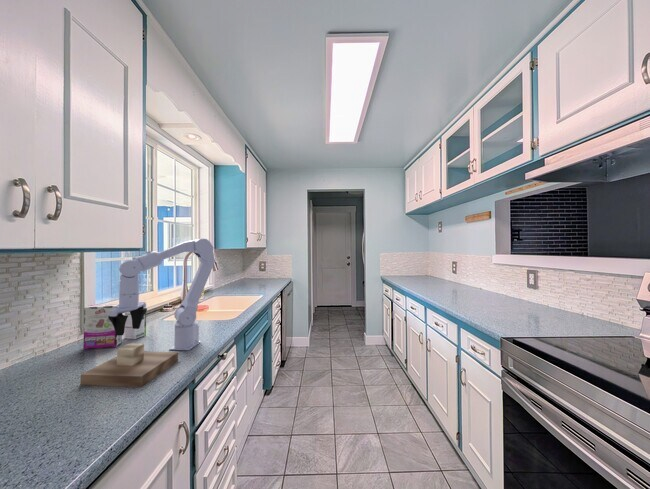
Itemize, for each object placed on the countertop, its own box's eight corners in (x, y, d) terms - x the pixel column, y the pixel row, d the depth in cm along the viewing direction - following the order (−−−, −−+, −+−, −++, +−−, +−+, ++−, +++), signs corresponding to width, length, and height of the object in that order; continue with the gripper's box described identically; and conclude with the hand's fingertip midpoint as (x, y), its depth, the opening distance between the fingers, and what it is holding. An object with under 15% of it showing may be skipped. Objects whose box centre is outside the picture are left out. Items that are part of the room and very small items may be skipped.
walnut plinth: (128, 359, 96) (128, 350, 96) (177, 360, 95) (178, 352, 95) (80, 384, 78) (80, 374, 78) (141, 387, 77) (141, 376, 77)
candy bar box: (122, 343, 111) (123, 303, 112) (116, 347, 107) (117, 305, 107) (89, 345, 109) (91, 304, 109) (82, 350, 104) (83, 307, 104)
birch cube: (129, 358, 89) (129, 343, 89) (143, 359, 89) (144, 343, 89) (116, 365, 84) (117, 349, 84) (132, 365, 84) (132, 349, 84)
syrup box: (135, 339, 116) (135, 305, 116) (123, 338, 117) (124, 304, 117) (146, 335, 122) (147, 303, 122) (135, 334, 123) (136, 302, 123)
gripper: (133, 290, 105) (132, 325, 104) (101, 297, 90) (100, 338, 90) (151, 290, 104) (150, 326, 104) (121, 297, 90) (120, 338, 90)
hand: (128, 331), depth 97 cm, fingers open, 7 cm apart
